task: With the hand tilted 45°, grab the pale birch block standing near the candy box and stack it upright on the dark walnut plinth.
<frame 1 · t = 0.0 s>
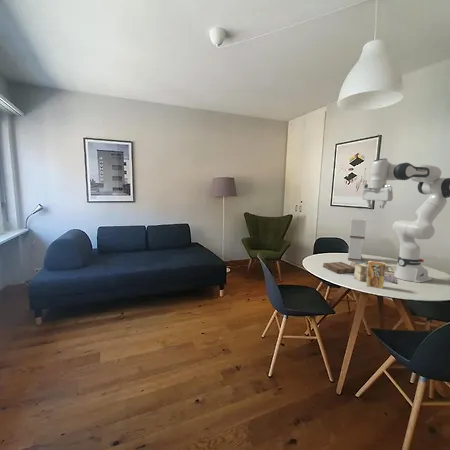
hand: (375, 207, 160), 48 cm above the table, tool pointing down, fingers open, 8 cm apart
candy box: (374, 286, 159), on the table
birch block: (360, 279, 170), on the table
walnut plinth: (339, 269, 192), on the table
display case: (355, 259, 219), on the table
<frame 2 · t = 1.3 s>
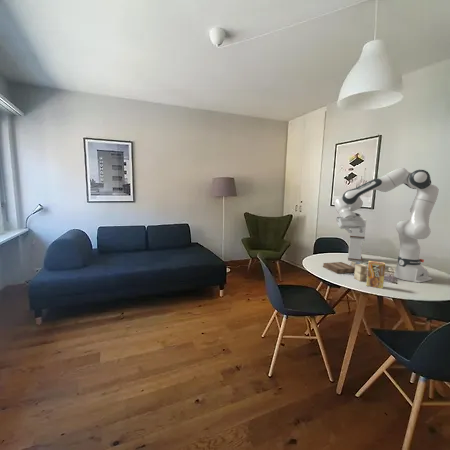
hand: (356, 232, 178), 30 cm above the table, tool tilted 45°, fingers open, 8 cm apart
nothing on the table moved.
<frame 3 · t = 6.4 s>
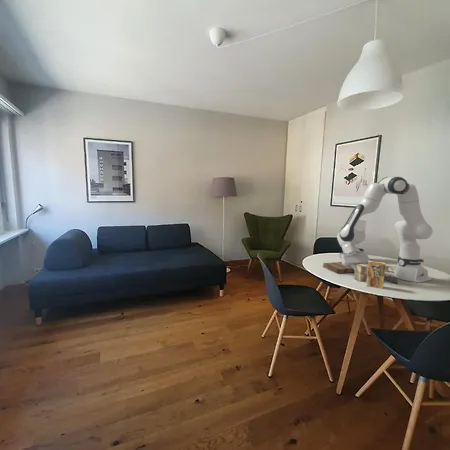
hand: (360, 270, 170), 6 cm above the table, tool tilted 45°, fingers closed on birch block, 5 cm apart
birch block: (360, 279, 170), on the table, touching gripper
everything else where it was.
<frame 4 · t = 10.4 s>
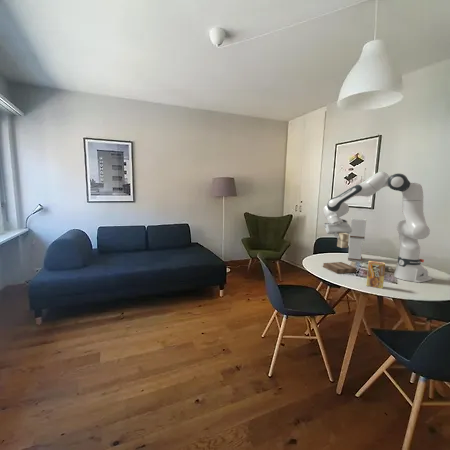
hand: (342, 238, 186), 24 cm above the table, tool tilted 45°, fingers closed on birch block, 5 cm apart
birch block: (342, 246, 187), point 18 cm above the table, touching gripper
everything else where it was.
when the fingers open (11 cm above the table, at t = 14.5 s): birch block drops 1 cm, resting on walnut plinth.
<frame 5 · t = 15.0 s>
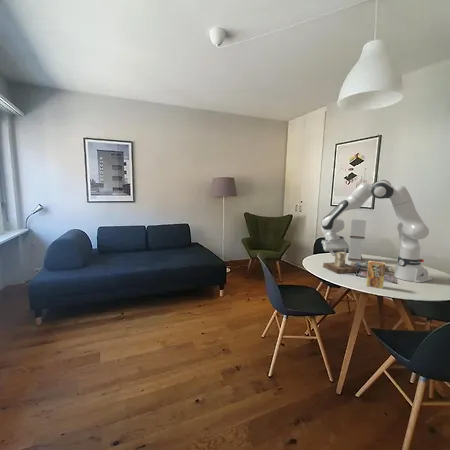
hand: (339, 255, 190), 11 cm above the table, tool tilted 45°, fingers open, 8 cm apart
birch block: (339, 265, 191), point 3 cm above the table, touching walnut plinth
everything else where it was.
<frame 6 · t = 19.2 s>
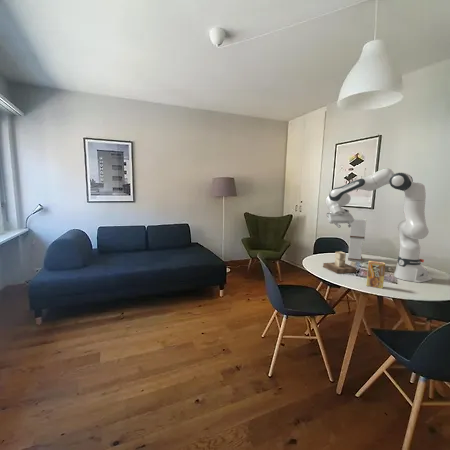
hand: (344, 227, 192), 31 cm above the table, tool tilted 45°, fingers open, 8 cm apart
nothing on the table moved.
at the end: birch block inside the target area on the walnut plinth (0.1 cm from its centre), point 3.0 cm above the walnut plinth's base; birch block tilted 0°; the gripper is holding nothing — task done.
